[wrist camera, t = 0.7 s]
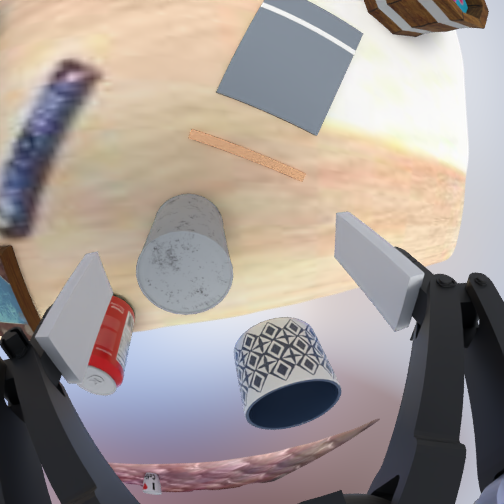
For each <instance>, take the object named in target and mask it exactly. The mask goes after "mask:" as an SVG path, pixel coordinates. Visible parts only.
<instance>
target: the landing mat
mask: <svg viewBox="0 0 504 504" xmlns="http://www.w3.org/2000/svg"><path fill="white" fill-rule="evenodd" d="M362 35H363V33H361V32H360V31H358V30H357V29H355V28H354V27H352V26H351V25H349V24H348V23H346V22H344V21H343V20H341V19H339V18H338V17H336V16H334V15H333V14H331V13H329V12H328V11H326V10H324V9H322V8H320V7H318V6H317V5H315V4H313V3H311V2H309V1H307V0H264V2H263V3H262V5H261V7H260V8H259V10H258V12H257V13H256V15H255V17H254V19H253V20H252V22H251V24H250V26H249V28H248V29H247V31H246V33H245V35H244V37H243V39H242V41H241V42H240V44H239V46H238V48H237V50H236V52H235V54H234V56H233V58H232V60H231V62H230V64H229V66H228V68H227V70H226V72H225V74H224V76H223V79H222V81H221V83H220V85H219V87H218V89H217V93H220V94H222V95H225V96H228V97H230V98H233V99H236V100H238V101H241V102H243V103H246V104H248V105H251V106H253V107H256V108H258V109H260V110H263V111H265V112H267V113H270V114H272V115H274V116H276V117H278V118H281V119H283V120H285V121H287V122H289V123H291V124H293V125H296V126H298V127H300V128H302V129H304V130H306V131H308V132H310V133H312V134H314V135H316V136H317V135H318V132H319V130H320V128H321V126H322V124H323V121H324V119H325V117H326V115H327V113H328V111H329V108H330V106H331V104H332V102H333V100H334V97H335V95H336V93H337V91H338V89H339V86H340V84H341V82H342V80H343V78H344V75H345V73H346V71H347V69H348V66H349V64H350V62H351V60H352V58H353V55H354V54H355V52H356V49H357V46H358V44H359V42H360V40H361V37H362Z"/></svg>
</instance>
